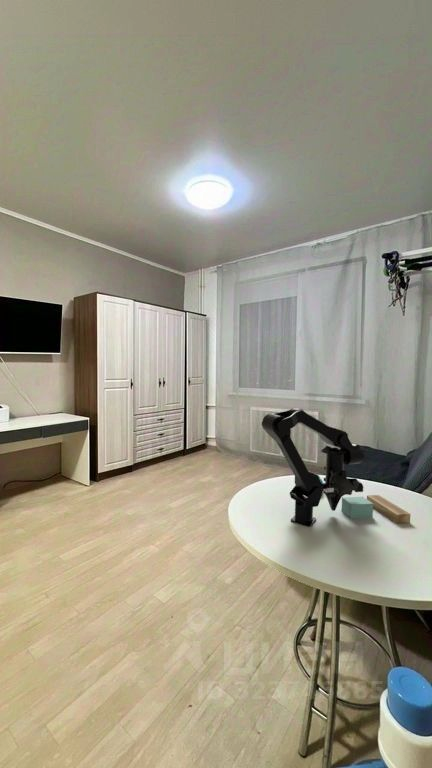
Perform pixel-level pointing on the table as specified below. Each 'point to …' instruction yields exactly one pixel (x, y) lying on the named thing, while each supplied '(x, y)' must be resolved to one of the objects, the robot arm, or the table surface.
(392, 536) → the table surface
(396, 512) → the board
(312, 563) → the table surface
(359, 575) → the table surface
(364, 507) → the block
